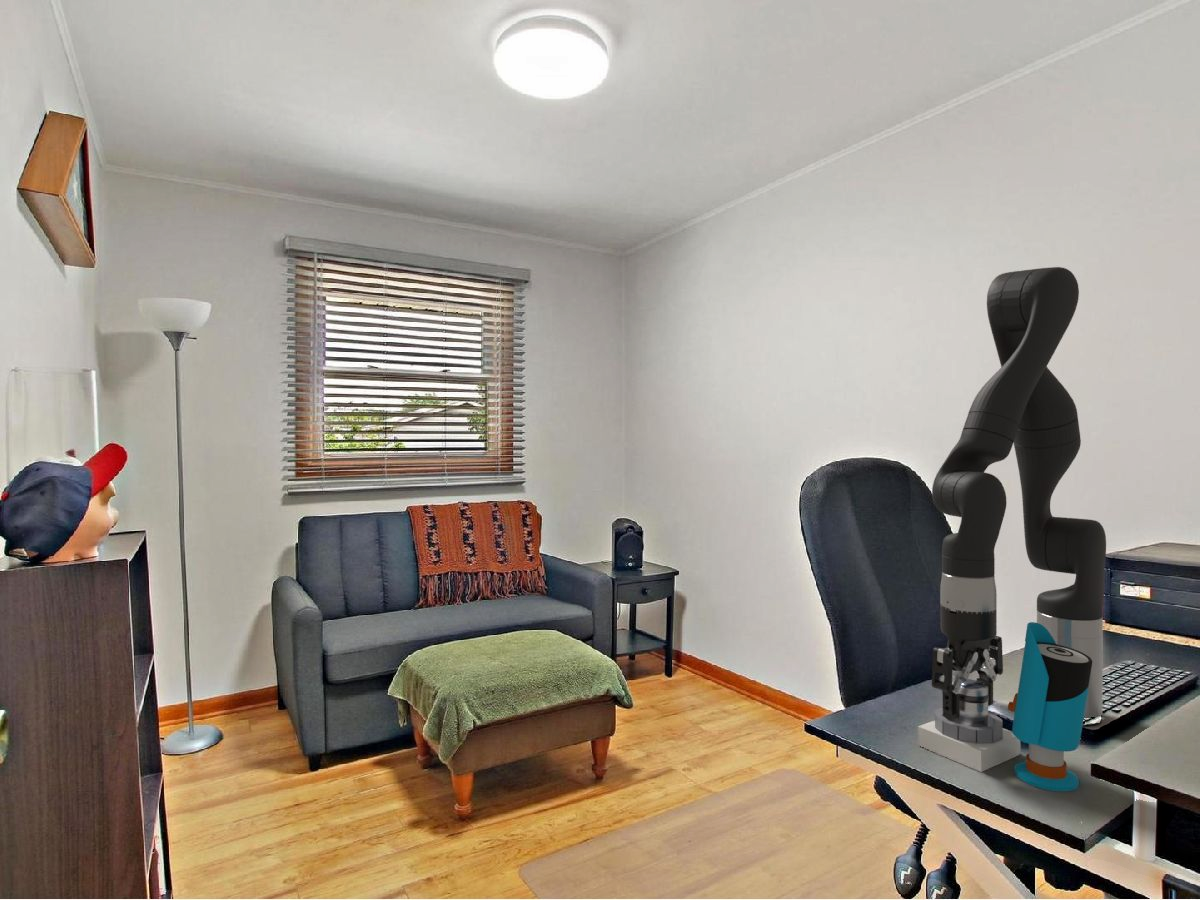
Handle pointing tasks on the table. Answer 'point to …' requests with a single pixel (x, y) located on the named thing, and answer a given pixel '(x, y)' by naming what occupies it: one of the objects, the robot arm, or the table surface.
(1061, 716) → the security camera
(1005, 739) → the mount
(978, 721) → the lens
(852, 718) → the table surface
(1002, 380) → the robot arm
